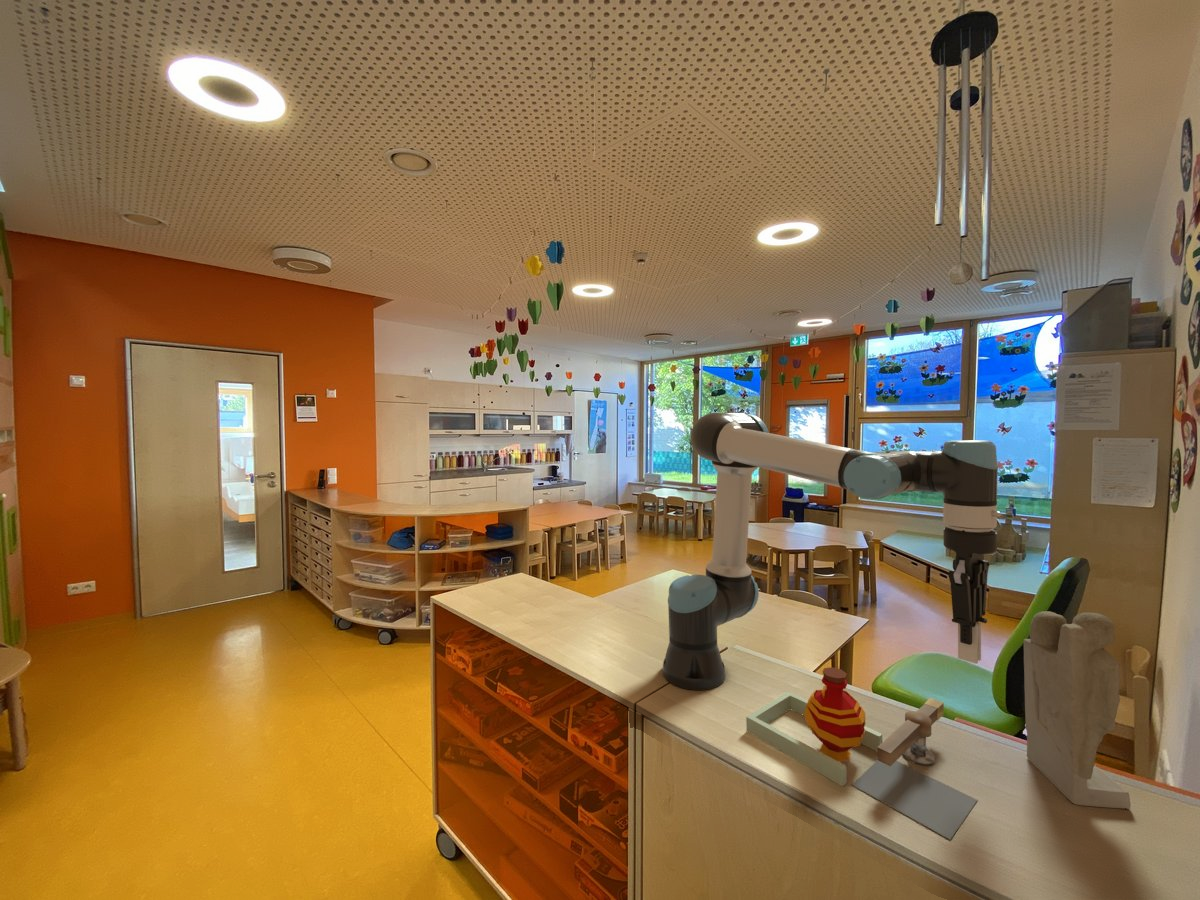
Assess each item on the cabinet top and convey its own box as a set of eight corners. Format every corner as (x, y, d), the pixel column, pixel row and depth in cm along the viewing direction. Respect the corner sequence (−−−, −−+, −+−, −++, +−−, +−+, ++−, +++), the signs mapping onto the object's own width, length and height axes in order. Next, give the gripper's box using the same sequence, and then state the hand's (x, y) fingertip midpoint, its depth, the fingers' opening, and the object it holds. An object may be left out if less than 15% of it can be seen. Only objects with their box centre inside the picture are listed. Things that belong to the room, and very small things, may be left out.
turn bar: (871, 757, 81) (870, 743, 81) (925, 707, 94) (925, 695, 94) (897, 770, 77) (897, 755, 77) (949, 716, 91) (949, 704, 91)
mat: (851, 785, 81) (851, 784, 81) (883, 755, 88) (883, 754, 88) (950, 840, 70) (950, 839, 70) (977, 800, 77) (977, 799, 77)
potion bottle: (825, 728, 96) (824, 654, 96) (878, 756, 88) (877, 676, 87) (792, 747, 91) (791, 669, 90) (845, 780, 82) (844, 694, 82)
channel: (746, 731, 96) (746, 716, 96) (788, 704, 105) (788, 691, 105) (842, 786, 81) (842, 769, 81) (882, 749, 90) (882, 733, 89)
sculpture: (1148, 825, 71) (1150, 626, 70) (1083, 817, 73) (1085, 623, 72) (1071, 758, 86) (1073, 592, 85) (1019, 753, 88) (1019, 590, 87)
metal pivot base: (897, 754, 88) (897, 730, 88) (908, 743, 91) (908, 720, 91) (928, 769, 84) (928, 744, 84) (939, 757, 87) (939, 733, 87)
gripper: (983, 536, 78) (982, 680, 79) (1008, 525, 86) (1007, 654, 87) (929, 530, 84) (930, 663, 85) (958, 519, 92) (958, 640, 93)
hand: (969, 658), depth 86 cm, fingers closed
